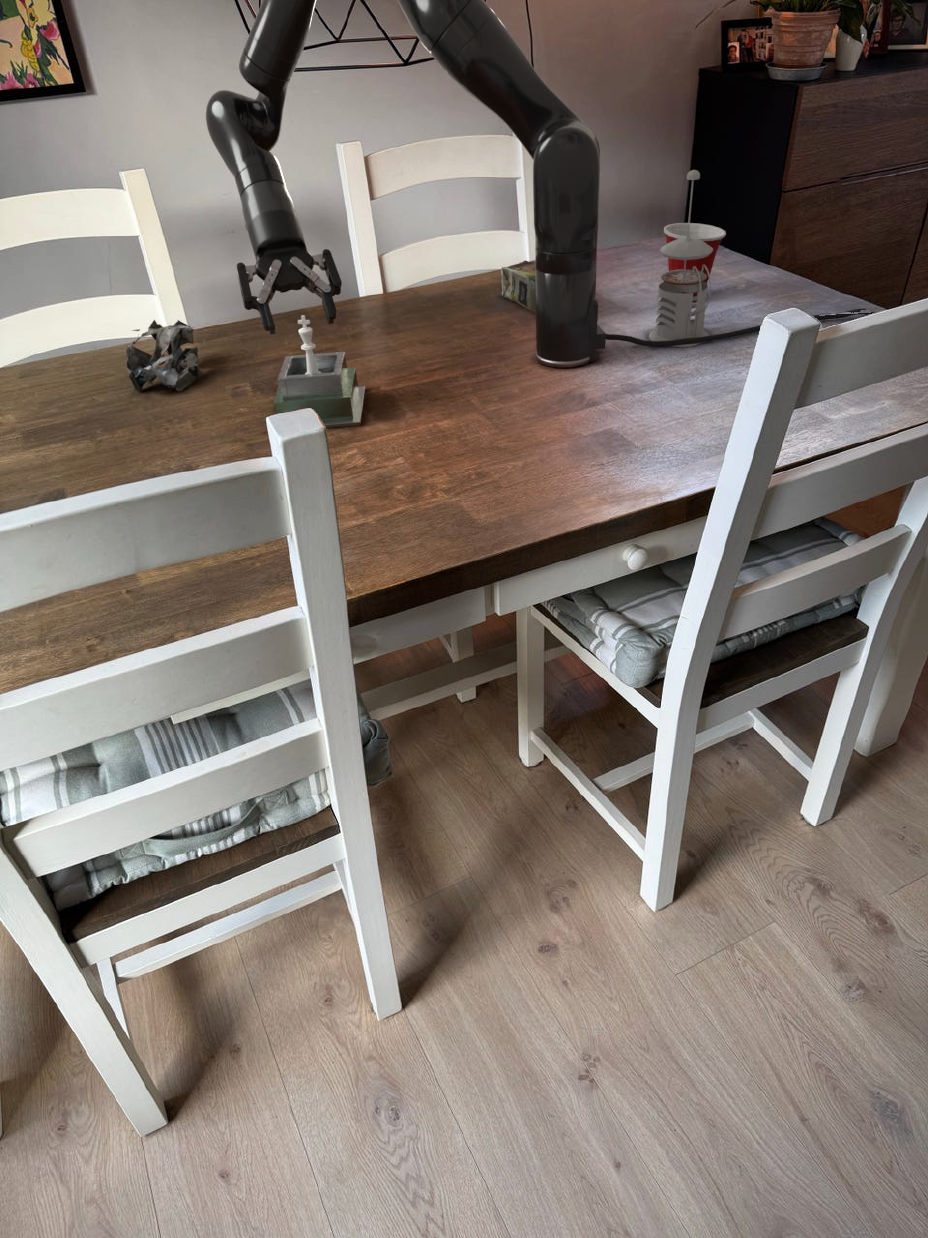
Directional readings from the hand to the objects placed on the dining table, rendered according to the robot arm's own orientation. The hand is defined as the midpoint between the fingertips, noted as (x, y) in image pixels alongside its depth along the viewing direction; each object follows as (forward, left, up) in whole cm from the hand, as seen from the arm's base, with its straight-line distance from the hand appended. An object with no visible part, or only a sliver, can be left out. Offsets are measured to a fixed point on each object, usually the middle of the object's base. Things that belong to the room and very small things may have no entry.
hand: (302, 326), depth 123 cm
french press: (-59, -16, -12) cm, 63 cm away
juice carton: (-39, -38, -12) cm, 56 cm away
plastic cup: (-65, -36, -12) cm, 76 cm away
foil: (+26, -15, -12) cm, 32 cm away
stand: (-1, +2, -12) cm, 12 cm away
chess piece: (-1, +2, -8) cm, 8 cm away
